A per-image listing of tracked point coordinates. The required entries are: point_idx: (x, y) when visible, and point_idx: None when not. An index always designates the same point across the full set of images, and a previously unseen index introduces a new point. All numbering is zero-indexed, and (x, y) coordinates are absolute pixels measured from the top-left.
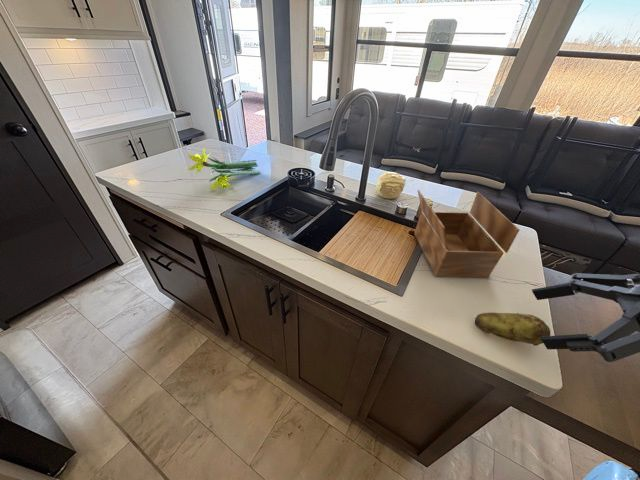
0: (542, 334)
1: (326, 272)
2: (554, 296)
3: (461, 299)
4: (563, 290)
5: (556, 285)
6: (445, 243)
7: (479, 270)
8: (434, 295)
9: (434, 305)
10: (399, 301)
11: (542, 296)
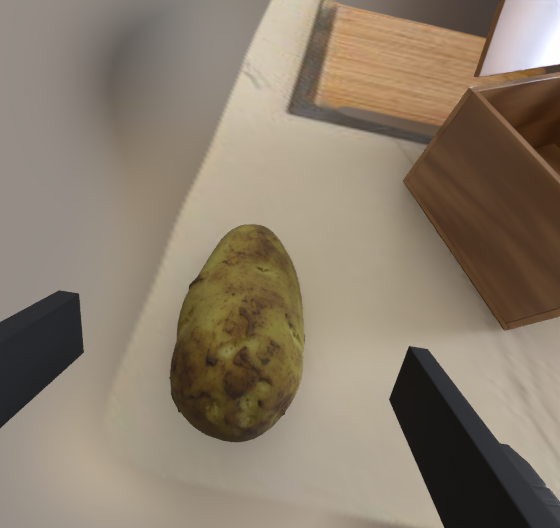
0: (178, 375)
1: (292, 11)
2: (427, 471)
3: (345, 233)
4: (484, 518)
5: (509, 460)
6: (489, 33)
7: (500, 274)
8: (325, 173)
9: (290, 170)
10: (270, 108)
11: (406, 407)
